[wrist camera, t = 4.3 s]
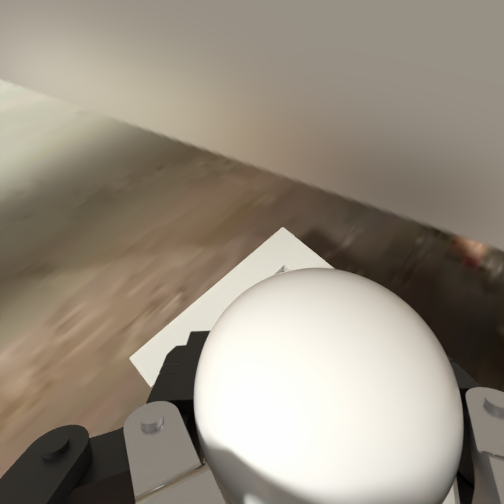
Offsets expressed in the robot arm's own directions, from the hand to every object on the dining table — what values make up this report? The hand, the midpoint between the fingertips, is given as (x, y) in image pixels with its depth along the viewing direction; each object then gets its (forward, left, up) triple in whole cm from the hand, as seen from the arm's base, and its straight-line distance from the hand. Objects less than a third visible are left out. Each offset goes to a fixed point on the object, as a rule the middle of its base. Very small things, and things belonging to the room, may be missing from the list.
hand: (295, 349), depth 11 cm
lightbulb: (+1, -1, -5) cm, 5 cm away
